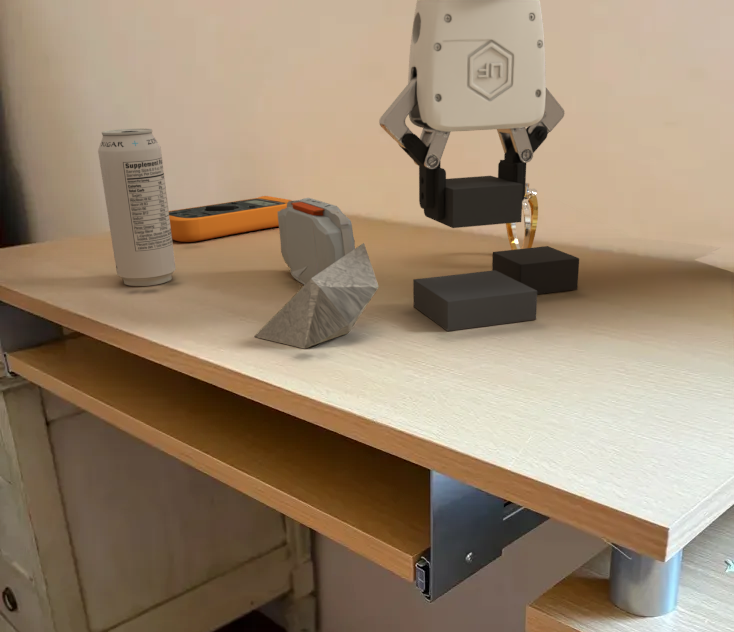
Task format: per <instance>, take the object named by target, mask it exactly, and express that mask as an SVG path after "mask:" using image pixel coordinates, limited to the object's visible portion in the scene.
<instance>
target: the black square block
mask: <svg viewBox="0 0 734 632" xmlns="http://www.w3.org/2000/svg"><path fill="white" fill-rule="evenodd" d="M522 194H523V184H520V183H517V182H513V181H509V180H505V179H501V178H498V176H493V175H480V176H467V177H453V178H452V177H451V178H446V187H445V218H444V219H443V220H435V219H432V218H430V217H428V216H425V217H426V218H429V219H430V220H432V221H435V222H437V223H440V224H441V225H444V226H447V227H449V228H452V229H458V228H470V227H480V226H481V227H483V226H493V225H504V224H505V225H506V223H516V224H517V223H521V222H522V217H523V215H522V214H523V210H522Z"/></svg>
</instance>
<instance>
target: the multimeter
mask: <svg viewBox="0 0 734 632" xmlns="http://www.w3.org/2000/svg"><path fill="white" fill-rule="evenodd" d="M289 201H293V200H292V199H286V198H282V197H277V196H269V195H262V196H258V197H253V198H246V199H240V200H235V201H227V202H221V203H214V204H207V205H200V206H194V207H193V206H192V207H189V208H188V207H187V208H180V209H173V210H169V218H170V226H171V234H172V241H176V242H179V243H195V242H201V241H206V240H211V239H215V238H220V237H226V236H230V235H236V234H241V233H242V234H243V233H248V232H253V231H259V230H263V229H270V228H271V229H272V228H277V227H278V228H279V222H278V212H277V211H280V210H282V209H285V208H287V203H288V202H289Z"/></svg>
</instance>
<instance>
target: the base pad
mask: <svg viewBox="0 0 734 632" xmlns="http://www.w3.org/2000/svg"><path fill="white" fill-rule="evenodd" d="M412 287H413V288H412V291H413V294H412V297H413V308H415V309H416V310H418V312H420V313H421V314H423V315H425V316H426V317H427V318H428V319H430V320H431V321H433V322H435V324H437V325H438V326H440V327H441V328H443V329H444V330H445V331H447V332H453V331H461V330H467V329H475V328H482V327H490V326H497V325H505V324H513V323H520V322H527V321H534V320H537V311H538V310H537V309H538V294H537V290H535V289H533V288H531V287H529V286H527V285H525V284H522V283H520V282H518V281H516V280H514V279H512V278H510V277H508V276H506V275H504V274H502V273H500V272H498V271H496V270H493V271H492V270H485V271H475V272H466V273H459V274H458V273H457V274H450V275H442V276H441V275H440V276H432V277H422V278H413V280H412Z"/></svg>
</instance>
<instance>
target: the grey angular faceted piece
mask: <svg viewBox="0 0 734 632" xmlns="http://www.w3.org/2000/svg"><path fill="white" fill-rule="evenodd" d="M307 268H308V267H307V266H306V267H304V268H301V269H298V270H296V271H293V272H291V271H290V272H289V273H290V275H291V274H292V275H293V276H294V277H295V278H296V279H298V280H299V281H300V282H301V283H300V282H299V281H298V282H299V283H300V284H302V285H303V286H302V287H301V288H300V289H299V290H298V291H297V292H296V293H295V294H294V295H293V296H292V297H291V299H289V300H288V301H287V302H286V304H285V305H283V306H282V307H281V308H280V310H279V311H277V312H276V314H274V316H272V318H271V319H270V320H269V321H268V322H267V323H266V324H265V325H264V326H263V327H262V328H261V329H260V330H259V331H258V332H257V333H256V334H255V335H254V336H253V337H254V338H258V339H262V340H266V341H270V342H275V343H279V344H283V345H288V346H292V347H295V348H296V347H297V348H301V349H308V348H310V347H314V346H316V345H319V344H322V343H325V342H327V341H330V340H333V339H336V338H339V337H341V336H345V335H347V334H349V333H350V332H351V330H352V328H353V327H354V325H355V324H356V322H357V321H358V319H359V318H360V316H361V315H362V313H363V312H364V311H365V309H366V307H367V306H368V304H369V303H370V301H371V300H372V298H373V297H374V295H375V293H376V292H377V291H378V289H379V288H380V287H379V286H380V285H379V284H378V280H377V277H376V273H375V271H374V267H373V266H372V262H371V260H370V257H369V253H368V250H367V248H366V244H365V242H363V243H361V244H359V245H358V246H357V247H355V249H354V250H352V251H351V252H349V253H348V254H346V255H345V256H344V257H342V258H341V259H339V260H338V261H336V262H335V263H333V264H332V265H330V266H329V267H327V268H326V269H324V270H323V271H321V272H320V273H319V274H317V275H316V276H314V277H313V278H311V279H310V280H309V281H308V282H307V283H306V284H304V283H303V282H302V281H301V280H300V279H299V277H300V276H301V275H302V273H303V272H304V271H305V270H306V269H307ZM292 275H291V276H292ZM295 278H294V279H295ZM296 279H295V280H296Z"/></svg>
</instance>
